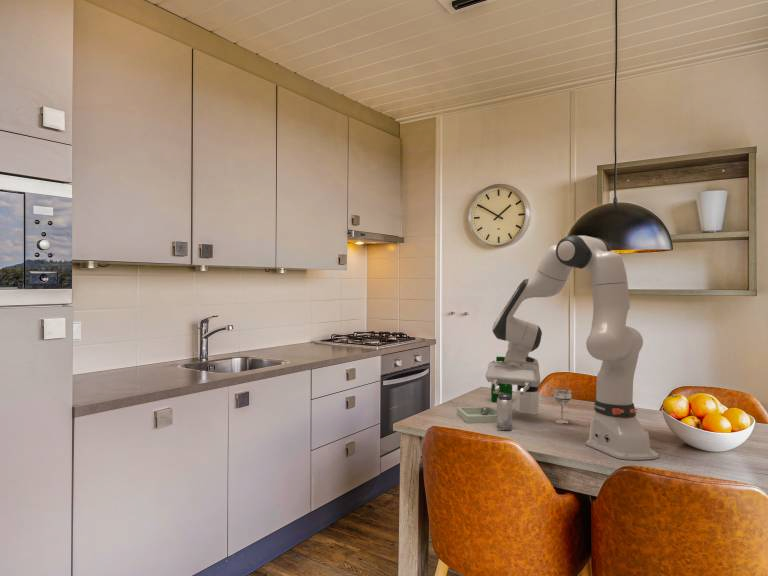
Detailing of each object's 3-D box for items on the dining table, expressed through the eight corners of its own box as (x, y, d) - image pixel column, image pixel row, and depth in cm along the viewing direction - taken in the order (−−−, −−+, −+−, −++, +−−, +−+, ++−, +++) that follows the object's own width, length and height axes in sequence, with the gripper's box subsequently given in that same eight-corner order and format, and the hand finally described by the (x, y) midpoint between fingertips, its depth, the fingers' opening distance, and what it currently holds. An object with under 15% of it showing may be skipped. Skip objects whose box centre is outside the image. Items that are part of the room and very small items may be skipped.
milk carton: (488, 401, 231) (489, 356, 231) (495, 398, 239) (496, 354, 238) (507, 404, 226) (508, 358, 226) (514, 400, 234) (515, 356, 234)
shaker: (514, 431, 186) (514, 396, 185) (499, 431, 185) (500, 396, 185) (508, 427, 191) (509, 393, 191) (494, 427, 190) (494, 393, 190)
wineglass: (557, 418, 204) (557, 388, 204) (574, 422, 199) (574, 390, 199) (549, 421, 199) (550, 390, 199) (566, 425, 194) (567, 393, 194)
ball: (489, 415, 203) (490, 408, 203) (482, 416, 203) (482, 408, 203) (487, 414, 206) (487, 406, 206) (480, 414, 206) (480, 406, 206)
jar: (527, 416, 206) (528, 386, 206) (511, 412, 213) (512, 383, 213) (542, 413, 211) (543, 384, 211) (526, 409, 218) (527, 381, 218)
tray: (503, 424, 194) (503, 415, 194) (467, 425, 192) (467, 416, 192) (490, 414, 208) (491, 406, 208) (456, 415, 206) (456, 407, 206)
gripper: (488, 355, 205) (480, 384, 197) (541, 360, 196) (536, 390, 188) (490, 365, 210) (483, 394, 201) (543, 370, 200) (538, 400, 192)
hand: (509, 392), depth 194 cm, fingers open, 8 cm apart
